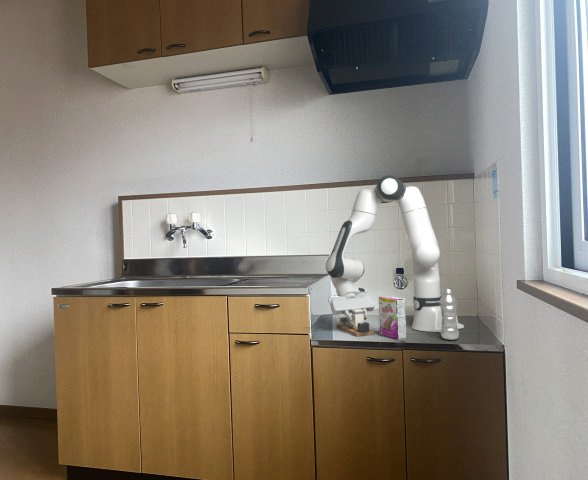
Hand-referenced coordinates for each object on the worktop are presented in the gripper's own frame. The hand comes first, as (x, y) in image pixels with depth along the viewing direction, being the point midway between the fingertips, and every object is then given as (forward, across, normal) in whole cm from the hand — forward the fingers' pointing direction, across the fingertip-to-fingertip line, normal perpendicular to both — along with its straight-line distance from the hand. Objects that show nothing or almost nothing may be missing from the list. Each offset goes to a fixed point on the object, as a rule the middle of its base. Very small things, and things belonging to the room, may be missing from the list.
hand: (358, 319), depth 181 cm
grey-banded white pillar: (+2, 0, +3) cm, 4 cm away
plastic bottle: (+23, +26, -14) cm, 38 cm away
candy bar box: (+13, +9, -4) cm, 17 cm away
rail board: (+1, 0, +7) cm, 7 cm away
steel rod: (0, 0, +6) cm, 6 cm away
